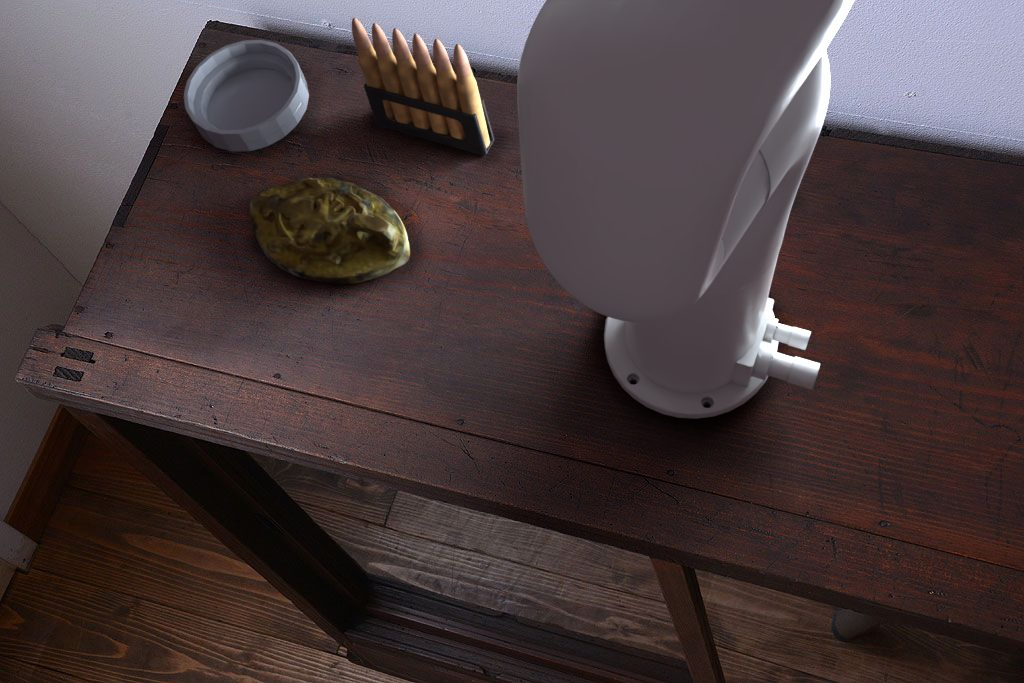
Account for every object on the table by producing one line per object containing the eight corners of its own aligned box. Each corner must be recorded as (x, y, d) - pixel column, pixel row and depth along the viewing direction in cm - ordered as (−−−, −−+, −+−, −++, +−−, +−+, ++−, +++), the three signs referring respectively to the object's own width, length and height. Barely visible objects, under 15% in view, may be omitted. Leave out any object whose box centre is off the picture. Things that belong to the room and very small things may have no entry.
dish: (329, 77, 88) (320, 53, 85) (276, 167, 84) (264, 146, 81) (232, 52, 91) (220, 29, 88) (176, 139, 87) (162, 117, 84)
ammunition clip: (495, 139, 83) (473, 38, 72) (486, 156, 82) (463, 56, 71) (385, 108, 85) (348, 6, 75) (375, 124, 85) (337, 24, 74)
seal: (232, 262, 81) (392, 308, 77) (207, 237, 77) (375, 285, 73) (277, 167, 84) (434, 207, 80) (254, 138, 80) (419, 178, 76)
